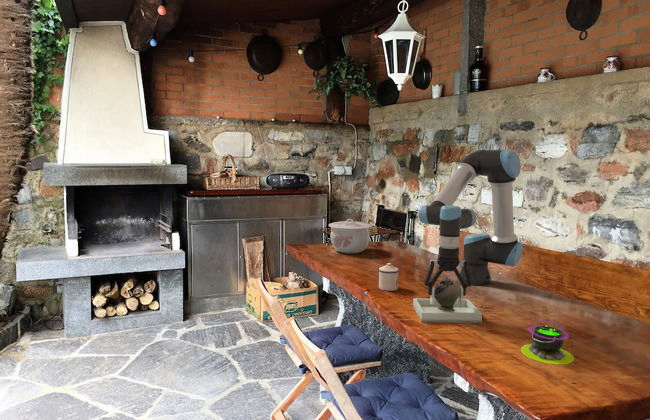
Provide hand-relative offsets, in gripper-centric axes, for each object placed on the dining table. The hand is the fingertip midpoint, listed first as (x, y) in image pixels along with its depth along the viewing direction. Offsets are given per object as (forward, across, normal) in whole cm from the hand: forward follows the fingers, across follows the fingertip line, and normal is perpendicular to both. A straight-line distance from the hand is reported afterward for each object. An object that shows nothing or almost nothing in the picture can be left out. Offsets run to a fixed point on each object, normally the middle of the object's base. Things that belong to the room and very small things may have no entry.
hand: (446, 303), depth 179 cm
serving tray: (+4, 0, 0) cm, 4 cm away
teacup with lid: (+5, -18, +36) cm, 40 cm away
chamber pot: (+5, -32, +114) cm, 118 cm away
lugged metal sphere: (+2, 0, 0) cm, 2 cm away
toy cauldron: (+5, +23, -34) cm, 41 cm away
